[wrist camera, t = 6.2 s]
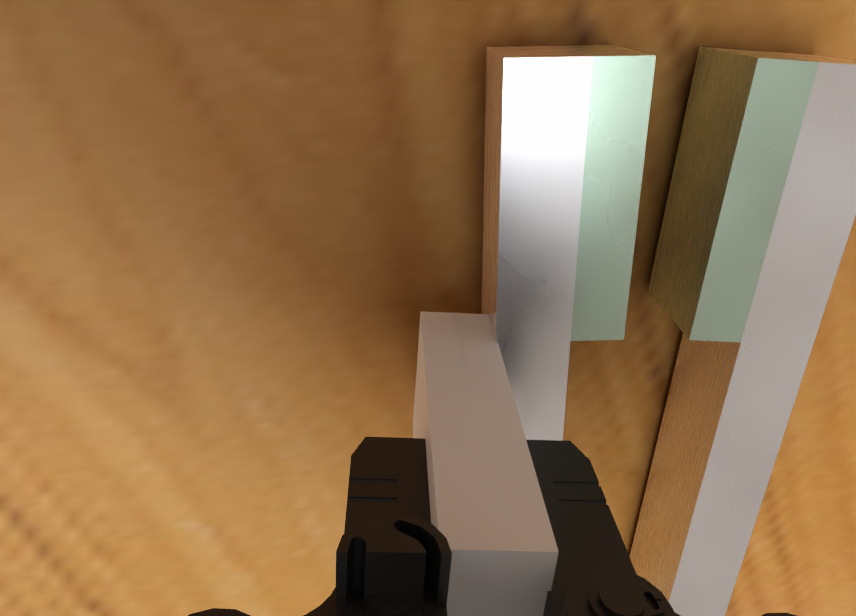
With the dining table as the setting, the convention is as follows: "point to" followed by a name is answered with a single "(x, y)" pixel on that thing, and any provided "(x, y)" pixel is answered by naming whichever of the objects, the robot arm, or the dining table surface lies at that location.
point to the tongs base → (741, 300)
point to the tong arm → (560, 209)
